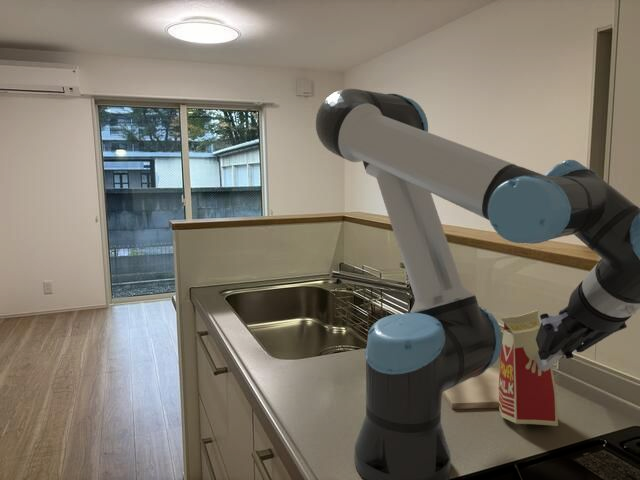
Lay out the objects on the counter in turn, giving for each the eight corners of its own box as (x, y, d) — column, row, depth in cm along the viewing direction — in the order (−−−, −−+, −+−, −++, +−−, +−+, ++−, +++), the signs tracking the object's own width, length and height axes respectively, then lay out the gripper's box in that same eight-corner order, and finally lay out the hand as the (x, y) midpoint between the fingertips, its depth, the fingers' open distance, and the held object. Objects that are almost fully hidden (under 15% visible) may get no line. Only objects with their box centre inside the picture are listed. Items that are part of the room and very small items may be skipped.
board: (451, 408, 93) (452, 403, 93) (428, 374, 109) (428, 369, 109) (540, 406, 94) (540, 400, 94) (504, 372, 110) (504, 367, 110)
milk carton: (540, 410, 93) (539, 308, 94) (560, 426, 84) (559, 312, 85) (492, 408, 94) (492, 307, 95) (508, 424, 85) (507, 311, 86)
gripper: (572, 321, 64) (511, 384, 83) (665, 319, 64) (584, 382, 83) (553, 274, 68) (499, 344, 87) (641, 272, 69) (569, 343, 88)
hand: (541, 363), depth 85 cm, fingers closed
